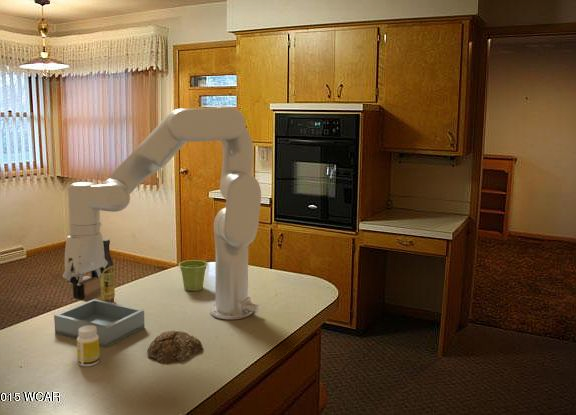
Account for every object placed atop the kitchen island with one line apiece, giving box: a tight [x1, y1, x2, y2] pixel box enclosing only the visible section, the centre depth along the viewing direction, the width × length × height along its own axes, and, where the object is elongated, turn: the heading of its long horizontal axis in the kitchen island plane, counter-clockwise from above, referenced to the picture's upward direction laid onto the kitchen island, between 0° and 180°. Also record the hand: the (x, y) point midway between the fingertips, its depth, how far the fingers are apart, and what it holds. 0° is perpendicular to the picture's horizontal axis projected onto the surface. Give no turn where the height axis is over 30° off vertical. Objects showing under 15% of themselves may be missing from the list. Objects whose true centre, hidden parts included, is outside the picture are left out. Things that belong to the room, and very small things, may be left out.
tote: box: [53, 299, 145, 348], centre depth 142 cm, size 18×14×5 cm
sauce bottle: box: [95, 237, 116, 303], centre depth 161 cm, size 6×6×20 cm
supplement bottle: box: [76, 325, 101, 367], centre depth 124 cm, size 5×5×8 cm
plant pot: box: [178, 259, 208, 292], centre depth 177 cm, size 9×9×9 cm
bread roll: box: [146, 330, 204, 364], centre depth 131 cm, size 13×12×5 cm
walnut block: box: [71, 275, 101, 303], centre depth 142 cm, size 5×5×5 cm
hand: (86, 294), depth 142 cm, fingers closed on walnut block, 5 cm apart
